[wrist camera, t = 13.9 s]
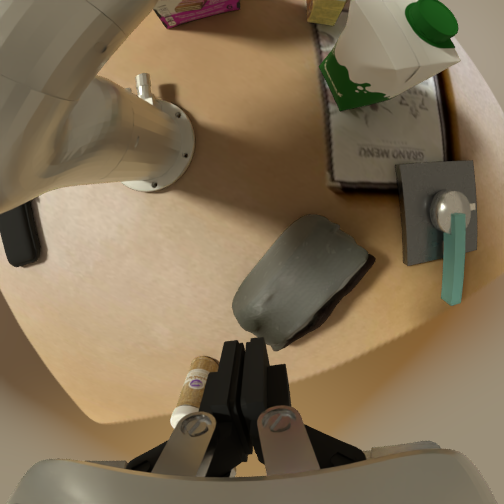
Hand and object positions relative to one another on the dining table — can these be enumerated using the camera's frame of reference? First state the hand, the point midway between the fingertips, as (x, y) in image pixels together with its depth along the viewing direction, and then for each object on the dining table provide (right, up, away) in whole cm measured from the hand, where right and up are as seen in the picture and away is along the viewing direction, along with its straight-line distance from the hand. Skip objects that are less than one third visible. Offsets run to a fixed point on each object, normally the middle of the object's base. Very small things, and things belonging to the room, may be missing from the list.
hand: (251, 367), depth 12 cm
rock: (+7, +2, +28) cm, 28 cm away
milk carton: (+13, +28, +21) cm, 37 cm away
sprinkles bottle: (-7, -13, +32) cm, 35 cm away
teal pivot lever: (+28, +6, +24) cm, 37 cm away
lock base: (+27, +11, +24) cm, 38 cm away
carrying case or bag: (-41, +10, +27) cm, 50 cm away
